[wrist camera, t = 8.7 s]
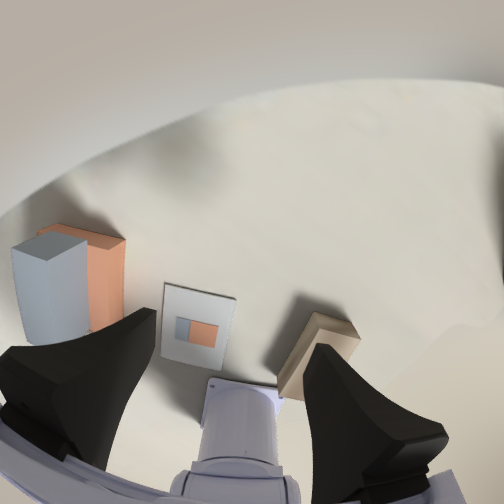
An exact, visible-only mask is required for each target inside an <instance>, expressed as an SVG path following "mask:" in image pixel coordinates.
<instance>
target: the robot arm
mask: <svg viewBox="0 0 504 504" xmlns="http://www.w3.org/2000/svg"><path fill="white" fill-rule="evenodd" d="M156 313H157V311H156V310H153V309H149V308H145V307H143V308H141V309H139V310H137V311H136V312H134V313H132V314H130V315H128V316H127V317H125V318H123V319H121V320H119V321H117V322H115V323H114V324H111V325H109V326H107V327H105V328H103V329H101V330H98V331H96V332H94V333H91V334H88V335H86V336H83V337H80V338H76V339H73V340H68V341H64V342H60V343H55V344H48V345H39V346H11V347H10V348H9V349H8V350H6V351H5V352H4V353H3V354H2V355H1V356H0V390H1V392H2V394H3V396H4V398H5V400H6V401H7V402H6V403H5V404H4V406H2V405H1V403H0V475H1V476H3V477H4V478H5V479H6V480H7V481H9V482H10V483H11V484H13V485H14V486H15V487H17V488H18V489H19V490H20V491H22V492H23V493H25V494H26V495H27V496H29V497H30V498H32V499H33V500H34V501H36V502H37V503H39V504H301V495H300V489H299V485H298V483H297V481H296V480H294V479H293V478H292V477H291V476H289V475H287V476H283V471H282V470H283V469H282V466H278V449H277V430H276V417H277V415H278V413H279V411H280V409H281V407H282V404H283V402H284V400H285V397H280V396H278V388H273V387H265V386H259V385H252V384H246V383H240V382H234V381H229V380H224V379H219V378H210V379H209V380H208V386H207V391H206V397H205V403H204V408H203V414H202V420H201V426H200V428H201V429H202V430H203V434H202V439H201V444H200V450H199V455H198V461H193V462H192V466H191V471H189V470H183V471H181V472H180V473H179V474H178V475H176V476H175V478H174V480H173V482H172V485H171V488H170V493H168V492H164V491H160V490H157V489H153V488H150V487H146V486H143V485H140V484H137V483H134V482H131V481H128V480H125V479H123V478H120V477H117V476H115V475H112V474H110V473H107V472H105V471H106V466H107V462H108V458H109V454H110V451H111V447H112V444H113V441H114V437H115V434H116V431H117V428H118V425H119V422H120V420H121V417H122V414H123V412H124V409H125V406H126V404H127V402H128V400H129V398H130V396H131V394H132V392H133V391H134V389H135V387H136V385H137V383H138V382H139V380H140V378H141V376H142V374H143V373H144V371H145V369H146V367H147V365H148V363H149V361H150V358H151V356H152V353H153V351H154V348H155V334H156ZM212 385H214V386H212ZM303 394H304V399H305V405H306V410H307V415H308V420H309V425H310V430H311V437H312V450H313V486H312V487H313V488H312V499H311V504H466V502H465V499H464V497H463V494H462V492H461V490H460V488H459V485H458V483H457V481H456V479H455V477H454V474H453V472H452V470H451V469H449V470H446V471H444V472H441V473H438V474H436V475H433V476H432V477H430V478H428V479H427V477H426V473H428V472H429V468H428V466H427V464H428V463H429V462H431V461H432V460H433V459H434V458H435V457H436V456H437V455H438V454H439V453H440V452H441V451H442V450H443V449H444V448H445V446H446V445H447V443H448V440H449V437H448V435H447V433H446V431H445V429H444V427H443V426H442V424H441V423H438V422H435V421H432V420H429V419H426V418H423V417H421V416H419V415H417V414H414V413H412V412H410V411H408V410H406V409H404V408H403V407H401V406H399V405H397V404H396V403H394V402H392V401H391V400H389V399H388V398H386V397H385V396H384V395H382V394H381V393H380V392H378V391H377V390H376V389H374V388H373V387H372V386H371V385H370V384H369V383H367V382H366V381H365V380H364V379H363V378H362V377H361V376H360V375H359V374H358V373H357V372H356V371H355V370H354V369H353V368H352V367H351V366H350V365H349V364H348V363H347V362H346V361H345V360H344V359H343V358H342V357H341V356H340V355H339V354H338V352H337V351H336V350H335V349H334V348H333V347H332V346H330V345H329V344H324V343H316V345H315V348H314V350H313V352H312V355H311V357H310V359H309V362H308V364H307V366H306V369H305V371H304V373H303Z"/></svg>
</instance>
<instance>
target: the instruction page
mask: <svg viewBox="0 0 504 504" xmlns="http://www.w3.org/2000/svg"><path fill="white" fill-rule="evenodd" d="M235 304H236V299H231V298H226V297H222V296H217V295H212V294H208V293H203V292H199V291H195V290H190V289H186V288H182V287H177V286H173V285H169V284H165V294H164V306H163V320H162V336H161V357H162V358H166V359H170V360H174V361H178V362H181V363H186V364H190V365H194V366H198V367H203V368H207V369H212V370H217V371H221V368H222V364H223V359H224V354H225V350H226V345H227V341H228V336H229V331H230V327H231V322H232V318H233V313H234V309H235Z"/></svg>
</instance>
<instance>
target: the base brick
mask: <svg viewBox="0 0 504 504" xmlns="http://www.w3.org/2000/svg"><path fill="white" fill-rule="evenodd" d="M49 231H55V232H59V233H63V234H66V235H70V236H74V237H78V238H82V239H86V240H87V279H88V300H89V313H90V324H91V328H90V329H89V330H91V331H93V332H96V331H98V330H101V329H103V328H105V327H107V326H109V325H111V324H114V323H115V322H117V321H119V320H121V319H123V318H124V317H123V287H124V259H125V243H126V240H124V239H120V238H116V237H111V236H107V235H103V234H99V233H94V232H90V231H86V230H82V229H78V228H74V227H69V226H65V225H61V224H54V225H51V226H48V227H46V228H43V229H41V230H38V231H37V236H40V235H42V234H44V233H47V232H49Z"/></svg>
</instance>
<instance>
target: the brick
mask: <svg viewBox="0 0 504 504" xmlns="http://www.w3.org/2000/svg"><path fill="white" fill-rule="evenodd" d="M360 341H361V338H360V336H359V335H358V333H357V331H356V329H355V328H354V326H353V324H352V323H350V322H347V321H343V320H340V319H337V318H334V317H330V316H327V315H324V314H321V313H318V312H314V311H313V313H312V315H311V317H310V319H309V321H308V323H307V325H306V326H305V328H304V330H303V332H302V334H301V336H300V337H299V339H298V341H297V343H296V345H295V346H294V348H293V350H292V352H291V353H290V355H289V357H288V359H287V360H286V362H285V364H284V365H283V367H282V369H281V370H280V372H279V374H278V375H277V385H278V396H280V397H285V398H290V399H295V400H300V401H305V399H304V394H303V373H304V371H305V369H306V366H307V364H308V362H309V359H310V357H311V355H312V352H313V350H314V348H315V345H316V343H324V344H329V345H330V346H332V347H333V348H334V349H335V350H336V351H337V352H338V354H339V355H340V356H341V357H342V358H343V359H344V360H345V361H346V362H347V361H348V360H349V358H350V357H351V355H352V354H353V352H354V351H355V349H356V347H357V346H358V344H359V343H360Z"/></svg>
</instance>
